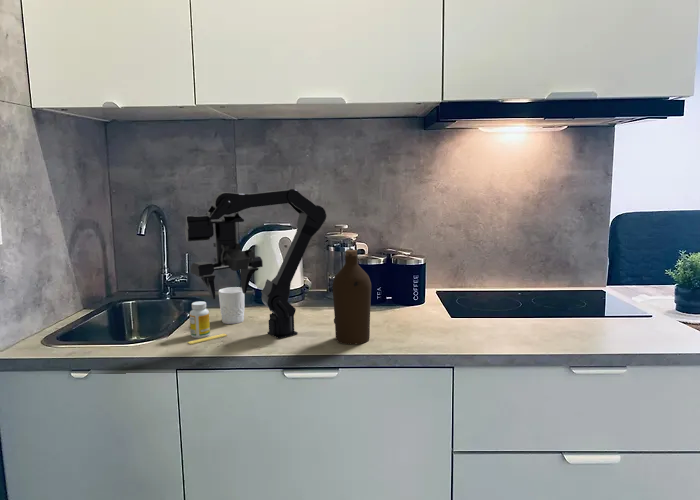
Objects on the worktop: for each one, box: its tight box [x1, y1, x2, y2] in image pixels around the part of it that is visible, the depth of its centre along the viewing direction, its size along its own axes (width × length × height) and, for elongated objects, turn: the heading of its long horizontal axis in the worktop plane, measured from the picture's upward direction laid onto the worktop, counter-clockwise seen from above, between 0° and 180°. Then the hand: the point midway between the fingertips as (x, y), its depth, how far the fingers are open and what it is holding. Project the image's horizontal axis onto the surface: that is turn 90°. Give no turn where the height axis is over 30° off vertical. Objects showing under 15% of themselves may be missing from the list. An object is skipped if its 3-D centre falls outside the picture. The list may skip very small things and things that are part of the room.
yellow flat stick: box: [187, 333, 228, 346], centre depth 149 cm, size 11×2×1 cm, turn 130°
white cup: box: [218, 286, 245, 325], centre depth 166 cm, size 8×8×10 cm
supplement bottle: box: [189, 301, 211, 339], centre depth 152 cm, size 5×5×10 cm
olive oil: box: [332, 249, 372, 346], centre depth 145 cm, size 11×11×25 cm
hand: (229, 296), depth 145 cm, fingers open, 9 cm apart
